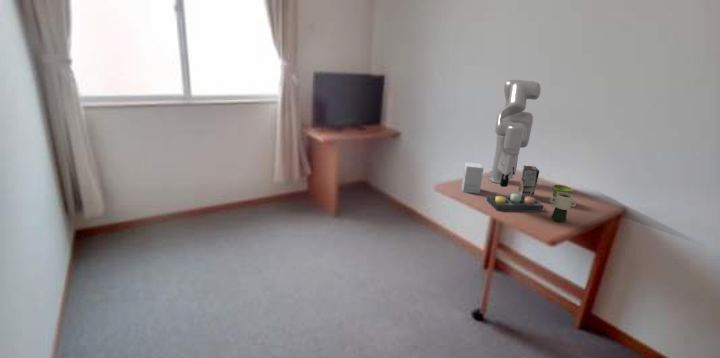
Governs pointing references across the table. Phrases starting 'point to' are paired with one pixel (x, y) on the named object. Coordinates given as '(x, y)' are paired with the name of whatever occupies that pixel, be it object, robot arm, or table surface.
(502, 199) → the mustard button
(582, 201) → the table surface
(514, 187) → the table surface
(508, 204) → the panel
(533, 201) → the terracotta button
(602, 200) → the table surface
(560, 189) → the plant pot
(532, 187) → the coffee box
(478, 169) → the supplement box
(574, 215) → the table surface
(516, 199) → the sage button
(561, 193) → the character mug
